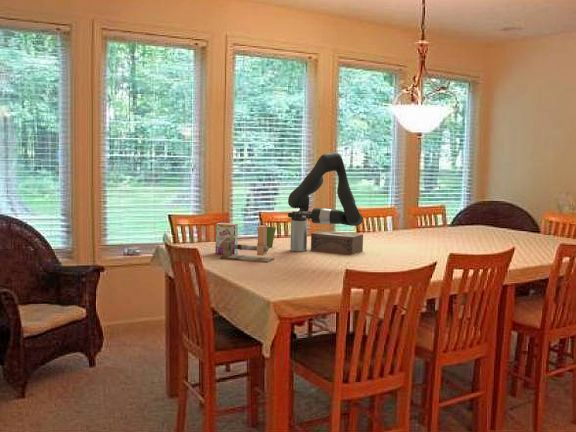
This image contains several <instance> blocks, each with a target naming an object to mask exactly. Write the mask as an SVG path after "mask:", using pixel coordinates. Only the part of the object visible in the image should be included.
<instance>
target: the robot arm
mask: <svg viewBox="0 0 576 432" xmlns="http://www.w3.org/2000/svg"><path fill="white" fill-rule="evenodd" d="M329 172H336V174H337V177H338V178H337V179H338V184H337V188H336V189H337V190H336V191H337V192H336V193H337V197H338V200H339V202H340V205H341V206H342V209H343V210H340V209H330V208H318V207H317V208H316V207H313V208H312V211H310V209H309V208H310V195H313V194H314V193H316V192H317V191H318V190H319V189H320V188H321V186H322V185H323V184H324V175H325V174H326V173H327V174H328V173H329ZM287 200H288V201H287V203H288V205H289V207H290V208H293V209H299V210H298V211H291V212H288V213H287V217H288V218H290V245H289V247H290V248H289V249H290V251H293V252H306V251H308V250H307V249H308V220H311V222H312V224H321V225H323V224H324V225H328V224H329V225H331V224H333V225H344V226H350V227H356V226H357V227H358V226H360V225H361V224H362V223H363V221H364V220H363V219H364V217H363V215H362V214H361V213H360V211H359V209H358V206H357V204H356V200H355V197H354V195H353V192H352V190H351V187H350V185H349V181H348V175H347V171H346V168H345V164H344V161H343V157H342V155H341V154H340V153H339V152H338V151H337V152H329V153H324V154H322V155H321V156H320V157H318V160H317V161H316V163H315V165H314V166H313V168H312V169H311V170H310V172H309V173H308V174H307V175H306V176H305V177H304V179H303V180H302V181H301V183H299V185H298V186H297V187H296V188H295V189H293V190H292V191H291V193H290V194H289V196H288V199H287Z"/></svg>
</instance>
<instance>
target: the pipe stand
mask: <svg viewBox="0 0 576 432" xmlns="http://www.w3.org/2000/svg"><path fill="white" fill-rule="evenodd" d="M232 249H237V250H241V251H242V250H243V251H254V252H255V251H256V252H257V245H251V244H250V245H249V244H241V243H240V244H239V243H238V244H232V241H225V242H223V254H222V256H220V257H219V259H220V260H221V259H222V260H231V261H232V260H233V261H242V262H243V261H245V262H255V263H256V262H257V263H268V264H269V263H270V262H271V261H274V260H275V257H269V256H268V257H267V256H258V255H257V256H256V255H255V256H254V255H245V254H244V255H243V254H236V255H232ZM264 251H267V252H269V247H265V246H264Z"/></svg>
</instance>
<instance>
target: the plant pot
mask: <svg viewBox="0 0 576 432" xmlns="http://www.w3.org/2000/svg"><path fill="white" fill-rule="evenodd" d="M276 230H277V227H275V226H267V247H268V249H269V248H272V247H273V245H274V239H275V233H276ZM256 231H257V232H258V226H257V227H256Z"/></svg>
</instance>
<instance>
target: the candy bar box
mask: <svg viewBox="0 0 576 432" xmlns="http://www.w3.org/2000/svg"><path fill="white" fill-rule="evenodd" d="M238 233H239V224H238V223H230V222H229V223H228V222H217V223H216V224H215V254H217V255H218V254H219V255H223V242H225V241H232V244H239V242H238V240H239V239H238V238H239V237H238V236H239V234H238ZM232 255H238V249H232Z"/></svg>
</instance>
